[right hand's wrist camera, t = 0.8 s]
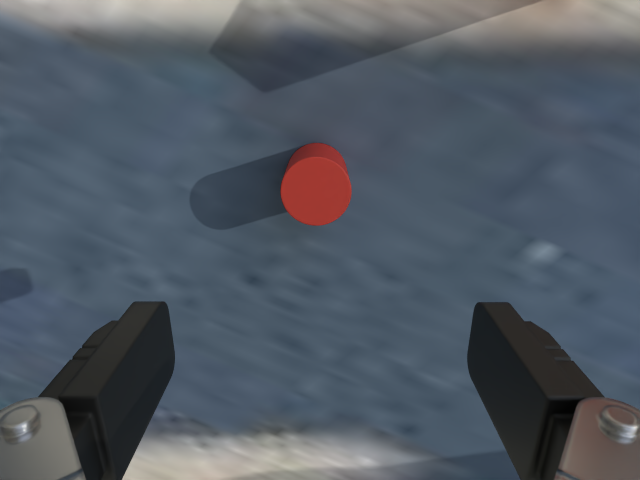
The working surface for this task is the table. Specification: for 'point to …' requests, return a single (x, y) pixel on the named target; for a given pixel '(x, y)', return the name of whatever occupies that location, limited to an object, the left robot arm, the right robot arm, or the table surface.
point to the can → (316, 185)
